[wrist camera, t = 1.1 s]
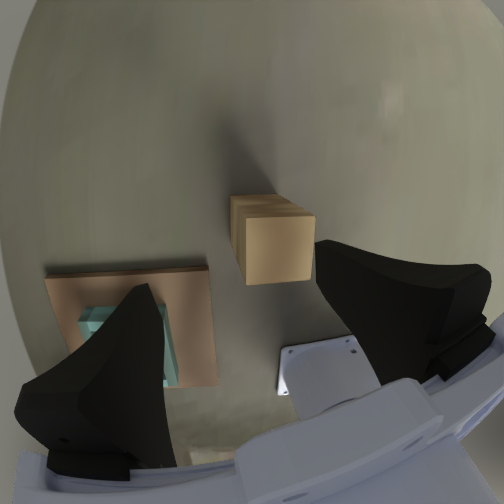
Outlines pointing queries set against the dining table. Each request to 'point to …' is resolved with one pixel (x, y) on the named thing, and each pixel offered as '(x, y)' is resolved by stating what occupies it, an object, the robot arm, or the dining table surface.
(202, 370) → the socket board
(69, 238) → the dining table surface
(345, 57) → the dining table surface
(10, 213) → the dining table surface
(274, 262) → the peg
